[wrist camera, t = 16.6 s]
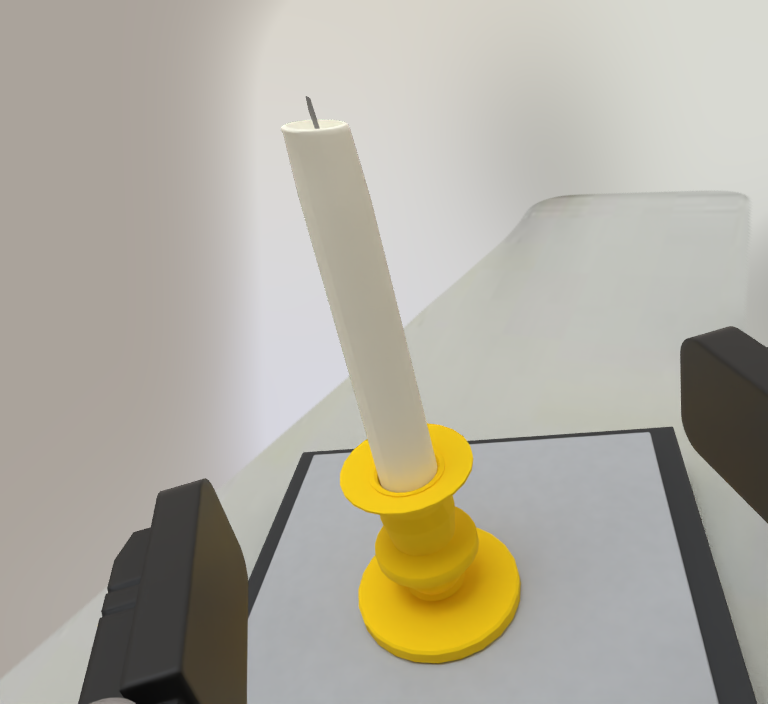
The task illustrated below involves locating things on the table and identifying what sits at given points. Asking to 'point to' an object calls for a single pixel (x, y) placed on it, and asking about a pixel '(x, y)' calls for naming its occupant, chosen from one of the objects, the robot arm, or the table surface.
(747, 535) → the table surface
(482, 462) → the kitchen scale
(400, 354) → the candle
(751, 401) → the robot arm
